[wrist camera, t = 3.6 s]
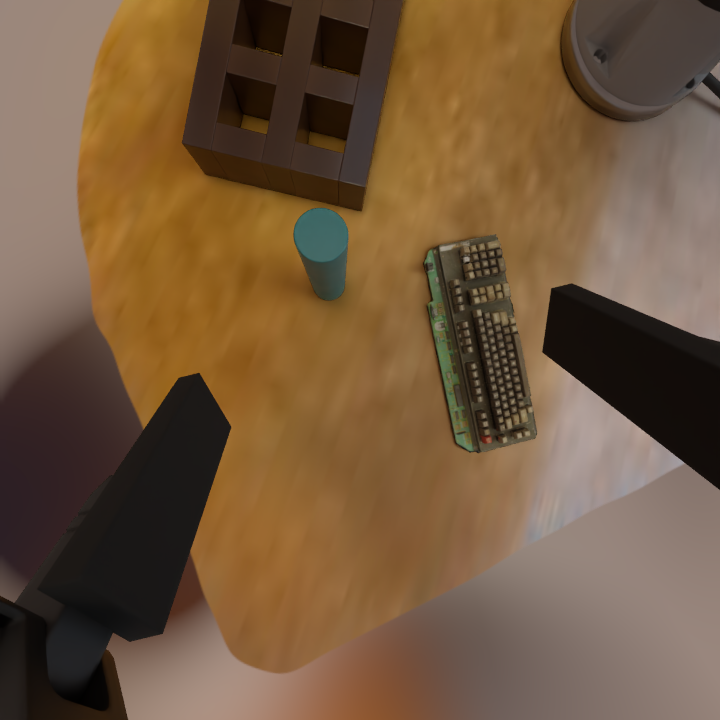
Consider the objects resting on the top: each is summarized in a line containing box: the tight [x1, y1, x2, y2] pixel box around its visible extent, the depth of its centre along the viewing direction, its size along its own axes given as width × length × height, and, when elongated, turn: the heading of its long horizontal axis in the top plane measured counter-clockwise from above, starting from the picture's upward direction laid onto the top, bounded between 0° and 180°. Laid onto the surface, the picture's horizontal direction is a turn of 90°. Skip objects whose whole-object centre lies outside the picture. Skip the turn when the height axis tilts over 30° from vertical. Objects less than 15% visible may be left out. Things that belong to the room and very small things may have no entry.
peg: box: [294, 208, 348, 300], centre depth 24 cm, size 3×3×13 cm
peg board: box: [182, 0, 404, 211], centre depth 28 cm, size 16×22×4 cm
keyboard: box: [423, 234, 537, 453], centre depth 31 cm, size 22×9×2 cm, turn 12°
